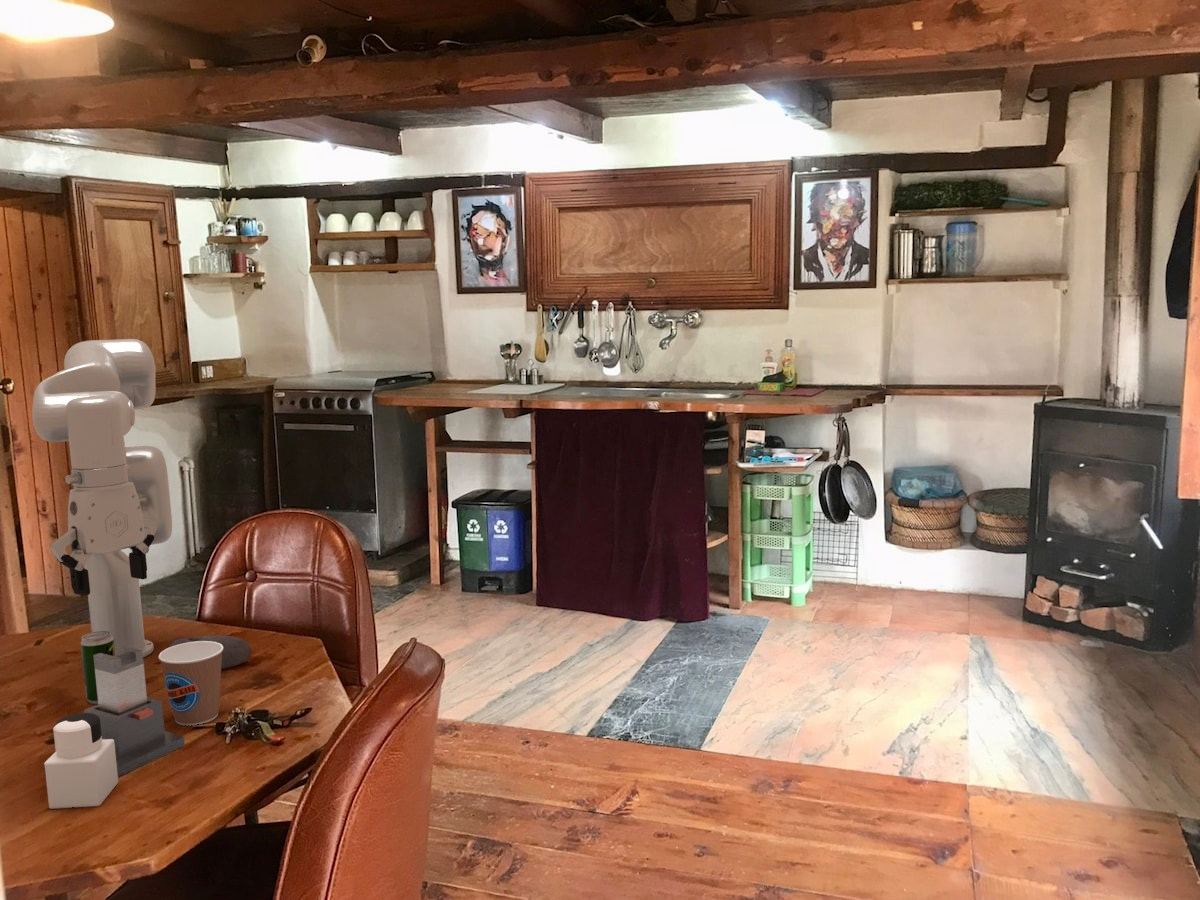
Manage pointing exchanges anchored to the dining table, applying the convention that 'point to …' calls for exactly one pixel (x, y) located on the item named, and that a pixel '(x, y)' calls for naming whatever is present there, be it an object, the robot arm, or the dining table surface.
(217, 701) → the coffee cup
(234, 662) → the perforated stone tool
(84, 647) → the beer can
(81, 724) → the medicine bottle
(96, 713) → the base
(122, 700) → the jack column
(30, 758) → the dining table surface
